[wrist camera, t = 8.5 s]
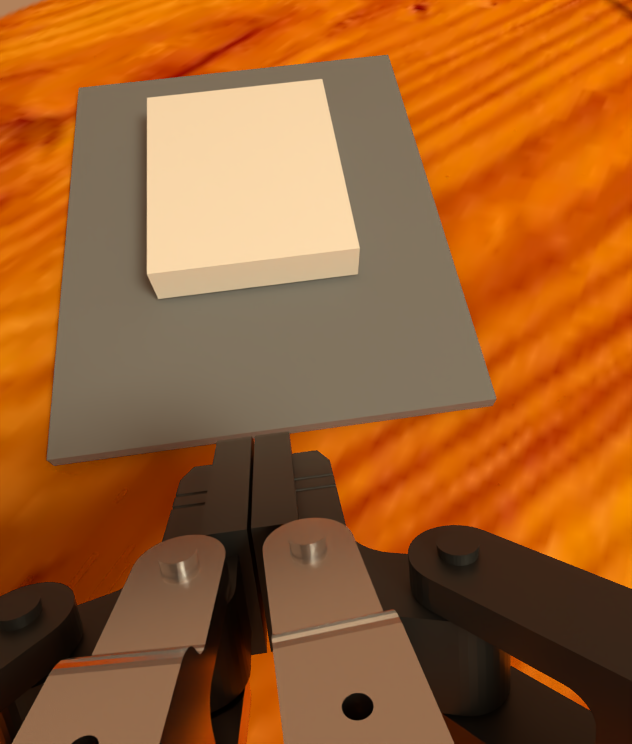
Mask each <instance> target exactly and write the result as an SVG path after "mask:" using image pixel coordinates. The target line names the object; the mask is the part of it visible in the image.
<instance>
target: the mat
mask: <svg viewBox="0 0 632 744" xmlns="http://www.w3.org/2000/svg"><path fill="white" fill-rule="evenodd" d="M316 79H322V80H323V85H324V89H325V94H326V98H327V103H328V107H329V112H330V116H331V121H332V125H333V130H334V134H335V139H336V143H337V148H338V152H339V157H340V161H341V166H342V170H343V175H344V179H345V184H346V188H347V193H348V197H349V202H350V206H351V211H352V215H353V220H354V224H355V229H356V233H357V238H358V242H359V247H360V252H359V266H358V274H356V275H348V276H340V277H332V278H324V279H316V280H308V281H300V282H292V283H284V284H276V285H267V286H259V287H251V288H243V289H235V290H227V291H219V292H211V293H203V294H195V295H187V296H179V297H171V298H163V299H158V297H157V295H156V293H155V291H154V289H153V286H152V284H151V282H150V280H149V278H148V276H147V98H150V97H159V96H168V95H178V94H187V93H196V92H205V91H214V90H224V89H233V88H242V87H251V86H260V85H270V84H279V83H288V82H297V81H307V80H316ZM495 401H496V396H495V392H494V389H493V386H492V383H491V380H490V377H489V373H488V370H487V367H486V364H485V361H484V358H483V354H482V351H481V348H480V345H479V342H478V339H477V335H476V332H475V329H474V326H473V323H472V320H471V316H470V313H469V310H468V307H467V304H466V301H465V297H464V294H463V291H462V288H461V285H460V281H459V278H458V275H457V272H456V269H455V266H454V262H453V259H452V256H451V253H450V250H449V247H448V243H447V240H446V237H445V234H444V231H443V228H442V224H441V221H440V218H439V215H438V212H437V209H436V205H435V202H434V199H433V196H432V193H431V190H430V186H429V183H428V180H427V177H426V174H425V171H424V167H423V164H422V161H421V158H420V155H419V152H418V148H417V145H416V142H415V139H414V136H413V133H412V129H411V126H410V123H409V120H408V117H407V113H406V110H405V107H404V104H403V101H402V98H401V94H400V91H399V88H398V85H397V82H396V79H395V75H394V72H393V69H392V66H391V63H390V60H389V56H388V55H382V56H372V57H363V58H354V59H344V60H335V61H326V62H316V63H307V64H298V65H288V66H279V67H270V68H260V69H251V70H242V71H232V72H223V73H214V74H204V75H195V76H186V77H176V78H167V79H158V80H148V81H139V82H130V83H120V84H111V85H102V86H92V87H83V88H79V92H78V104H77V115H76V127H75V138H74V150H73V161H72V173H71V185H70V196H69V208H68V219H67V231H66V242H65V254H64V265H63V277H62V288H61V300H60V311H59V323H58V334H57V346H56V357H55V369H54V381H53V392H52V404H51V415H50V427H49V438H48V450H47V461H48V462H50V463H51V464H52V465H54V466H55V465H62V464H70V463H77V462H84V461H92V460H99V459H106V458H114V457H121V456H128V455H135V454H143V453H150V452H157V451H165V450H172V449H179V448H187V447H194V446H201V445H209V444H216V443H217V441H220V440H227V439H235V438H242V437H250V436H252V437H253V438H255V436H257V435H264V434H272V433H279V432H287V431H289V433H296V432H304V431H311V430H318V429H326V428H333V427H340V426H348V425H355V424H362V423H370V422H377V421H384V420H392V419H399V418H406V417H413V416H421V415H428V414H435V413H443V412H450V411H457V410H465V409H472V408H479V407H487V406H492V405H493V404H494V402H495Z"/></svg>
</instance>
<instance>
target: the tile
mask: <svg viewBox="0 0 632 744" xmlns="http://www.w3.org/2000/svg"><path fill="white" fill-rule="evenodd" d="M359 252H360V247H359V242H358V238H357V233H356V229H355V224H354V220H353V215H352V211H351V206H350V202H349V197H348V193H347V188H346V184H345V179H344V175H343V170H342V166H341V161H340V157H339V152H338V148H337V143H336V139H335V134H334V130H333V125H332V121H331V116H330V112H329V107H328V103H327V98H326V94H325V89H324V85H323V80H322V79H316V80H307V81H297V82H288V83H279V84H270V85H260V86H251V87H242V88H233V89H224V90H214V91H205V92H196V93H187V94H178V95H168V96H159V97H150V98H147V276H148V278H149V280H150V282H151V284H152V286H153V289H154V291H155V293H156V295H157V297H158V299H163V298H171V297H179V296H187V295H195V294H203V293H211V292H219V291H227V290H235V289H243V288H251V287H259V286H267V285H276V284H284V283H292V282H300V281H308V280H316V279H324V278H332V277H340V276H348V275H356V274H358V266H359Z"/></svg>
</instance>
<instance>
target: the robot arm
mask: <svg viewBox="0 0 632 744" xmlns="http://www.w3.org/2000/svg"><path fill="white" fill-rule="evenodd" d="M172 507H173V510H171V513H170V517H169V520H168V523H167V527H166V530H165V533H164V537H163V540H162V542H161V543H159V544H157V545H155V546H153V547H152V548H150V549H149V550H147V551H146V552H145V553H144V554H143V555H141V556H140V558H139V559H138V560H137V561H136V563H135V564H134V566H133V568H132V570H131V572H130V574H129V577H128V579H127V581H126V583H125V585H124V587H123V588H122V589H120V590H118V591H116V592H113V593H111V594H108V595H105V596H103V597H100V598H97V599H94V600H91V601H88V602H86V603H83V604H80V605H77V604H76V600H75V597H74V594H73V591H72V590H71V589H70V588H69V587H68V586H66V585H64V584H61V583H55V582H44V583H36V584H32V585H28V586H24V587H21V588H18V589H16V590H13V591H11V592H9V593H7V594H4V595H2V596H1V597H0V743H1V744H246V742H247V733H248V724H249V715H250V707H251V690H250V685H249V677H250V671H251V655H255V654H261V653H267V630H268V636H269V642H270V648H271V652H273V654H274V663H275V671H276V679H277V688H278V696H279V705H280V713H281V721H282V730H283V738H284V744H632V589H630V588H628V587H625V586H623V585H620V584H618V583H615V582H613V581H610V580H608V579H605V578H602V577H600V576H597V575H595V574H592V573H590V572H587V571H585V570H582V569H580V568H577V567H575V566H572V565H570V564H567V563H565V562H562V561H560V560H557V559H555V558H552V557H549V556H547V555H544V554H542V553H539V552H537V551H534V550H532V549H529V548H527V547H524V546H522V545H519V544H517V543H514V542H512V541H509V540H507V539H504V538H502V537H499V536H497V535H494V534H491V533H489V532H486V531H484V530H481V529H478V528H474V527H469V526H461V525H449V526H441V527H436V528H433V529H429V530H427V531H425V532H423V533H421V534H420V535H418V536H417V537H416V538H415V539H414V540H413V541H412V543H411V544H410V546H409V549H408V554H400V553H388V552H381V551H377V550H373V549H370V548H367V547H365V546H363V545H361V544H359V543H358V542H356V541H355V539H354V537H353V534H352V533H351V531H350V530H349V529H348V528H347V527H346V524H345V520H344V516H343V512H342V508H341V504H340V500H339V496H338V492H337V488H336V484H335V480H334V476H333V472H332V468H331V464H330V460H329V459H327V458H326V457H325V456H324V455H322V454H321V453H320V452H318V451H317V450H316V451H308V452H301V453H294V454H292V450H291V442H290V435H289V431H287V432H279V433H272V434H264V435H257V436H255V442H254V440H253V437H252V436H250V437H242V438H235V439H227V440H220V441H217V444H216V450H215V455H214V460H213V465H206V466H198V467H194V468H193V469H192V470H191V471H190V472H189V473H187V474H186V475H185V476H184V477H183V478H182V479H181V480H180V483H179V486H178V490H177V493H176V498H175V500H174V503H173V506H172ZM510 655H511V656H513V657H515V658H517V659H519V660H520V661H522V662H524V663H526V664H528V665H529V666H531V667H533V668H535V669H537V670H539V671H540V672H542V673H544V674H546V675H548V676H549V677H551V678H553V679H555V680H557V681H558V682H560V683H562V684H564V685H565V686H567V687H569V688H570V689H571V690H573V691H574V692H575V693H576V694H577V695H579V696H580V697H581V699H582V700H583V701H584V702H585V703H586V704H587V706H588V707H589V709H590V710H588V709H586V708H584V707H583V706H581V705H579V704H577V703H576V702H574V701H572V700H570V699H569V698H567V697H565V696H563V695H561V694H560V693H558V692H556V691H554V690H553V689H551V688H549V687H547V686H546V685H544V684H542V683H540V682H539V681H537V680H535V679H533V678H532V677H530V676H528V675H526V674H524V673H523V672H521V671H519V670H517V669H516V668H514V667H512V666H510Z"/></svg>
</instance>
